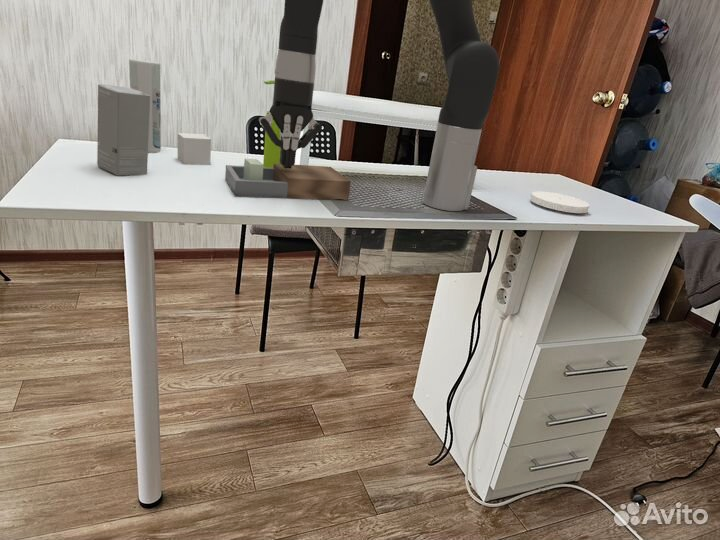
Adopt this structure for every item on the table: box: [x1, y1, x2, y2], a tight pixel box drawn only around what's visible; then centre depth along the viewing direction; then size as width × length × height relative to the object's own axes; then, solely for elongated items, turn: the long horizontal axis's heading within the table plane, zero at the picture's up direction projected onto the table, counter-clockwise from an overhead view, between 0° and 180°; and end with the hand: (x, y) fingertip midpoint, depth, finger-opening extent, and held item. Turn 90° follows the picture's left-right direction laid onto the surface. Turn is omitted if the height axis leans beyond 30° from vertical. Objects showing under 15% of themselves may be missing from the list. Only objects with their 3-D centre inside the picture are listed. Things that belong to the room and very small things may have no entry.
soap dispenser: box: [262, 80, 290, 168], centre depth 117 cm, size 6×7×20 cm
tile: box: [243, 157, 264, 181], centre depth 100 cm, size 5×5×2 cm
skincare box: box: [96, 83, 150, 176], centre depth 97 cm, size 8×7×16 cm
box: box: [224, 164, 288, 199], centre depth 101 cm, size 10×13×3 cm
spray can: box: [128, 58, 162, 154], centre depth 117 cm, size 6×6×20 cm
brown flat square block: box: [273, 163, 352, 201], centre depth 105 cm, size 13×13×4 cm
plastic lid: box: [529, 190, 591, 214], centre depth 126 cm, size 14×14×2 cm
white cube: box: [177, 132, 212, 166], centre depth 115 cm, size 6×6×6 cm
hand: (286, 167), depth 103 cm, fingers closed
